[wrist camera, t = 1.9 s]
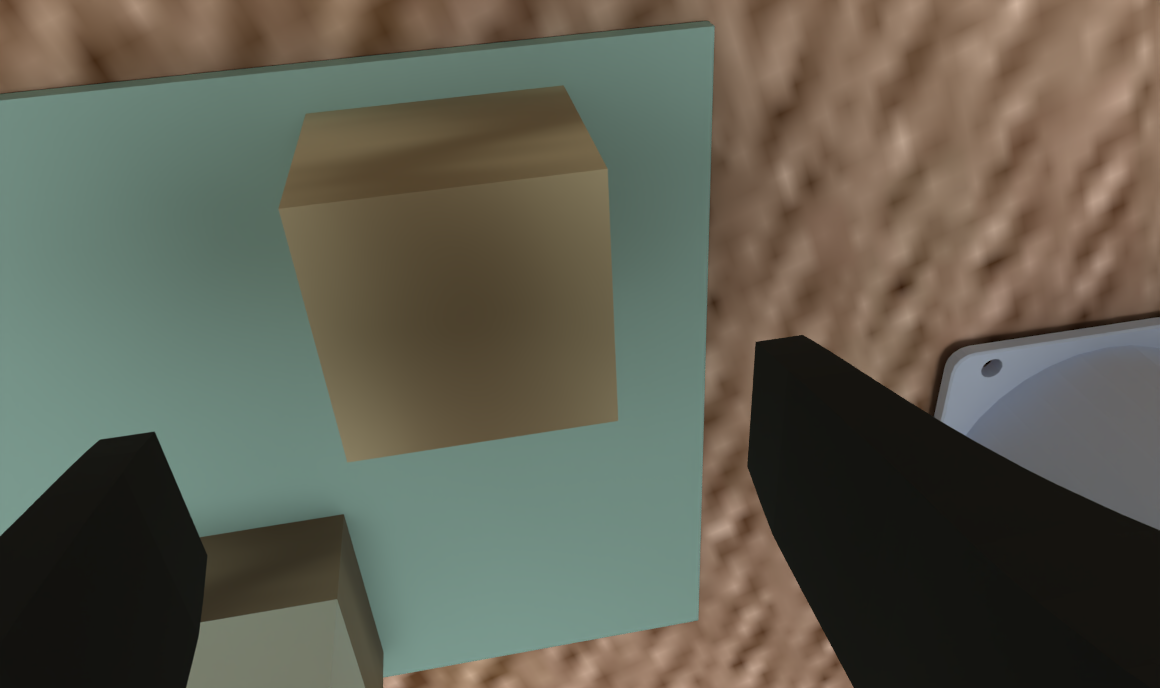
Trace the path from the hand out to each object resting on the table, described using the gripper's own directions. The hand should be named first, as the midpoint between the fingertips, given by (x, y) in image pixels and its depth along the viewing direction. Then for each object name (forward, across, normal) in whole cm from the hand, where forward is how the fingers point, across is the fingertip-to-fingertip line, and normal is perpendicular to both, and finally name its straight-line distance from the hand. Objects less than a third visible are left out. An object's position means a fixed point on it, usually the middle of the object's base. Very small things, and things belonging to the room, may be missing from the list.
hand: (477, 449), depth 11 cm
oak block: (+7, 0, 0) cm, 7 cm away
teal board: (+7, +3, +5) cm, 9 cm away
